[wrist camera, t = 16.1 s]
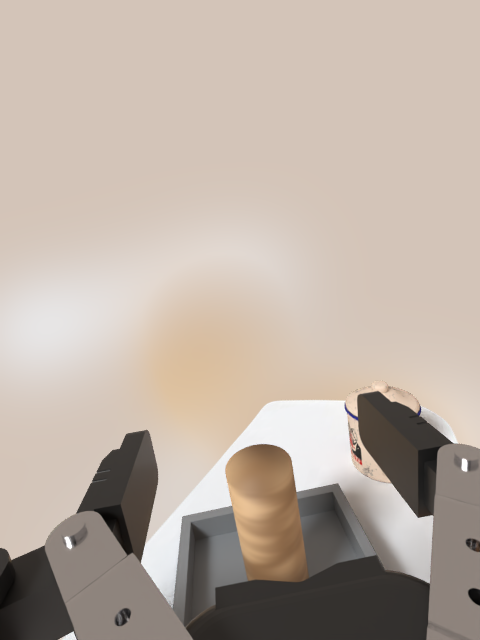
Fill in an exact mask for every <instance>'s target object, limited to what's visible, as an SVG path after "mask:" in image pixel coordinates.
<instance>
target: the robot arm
mask: <svg viewBox="0 0 480 640" xmlns="http://www.w3.org/2000/svg"><path fill="white" fill-rule="evenodd" d="M357 409H358V428H359V435H360V439H361V441H362V444H363V446H364V447H365V449H366V450H367V451H368V453H369V454H370V455H371V457H372V458H373V459H374V461H375V462H376V463H377V464H378V466H379V467H380V468H381V470H382V471H383V472H384V474H385V475H386V476H387V478H388V479H389V480H390V482H391V483H392V484H393V485H394V487H395V488H396V489H397V491H398V492H399V493H400V495H401V496H402V497H403V499H404V500H405V501H406V502H407V504H408V505H409V506H410V508H411V509H412V510H413V512H414V513H415V514H416V516H417V517H418V518H420V517H425V516H430V515H433V516H434V518H433V537H432V556H431V575H430V584H429V583H427V582H425V581H423V580H421V579H418V578H416V577H413V576H411V575H407V574H404V573H401V572H396V571H390V570H384V568H383V566H382V564H381V562H380V561H379V559H378V557H377V555H374V556H369V557H364V558H359V559H354V560H349V561H344V562H339V563H336V564H335V565H333V566H331V567H329V568H327V569H325V570H323V571H321V572H319V573H317V574H315V575H313V576H312V577H310V578H308V579H306V580H304V581H301V582H286V581H271V580H257V579H255V580H250V581H246V582H241V583H236V584H231V585H226V586H221V587H216V588H215V605H213V606H211V607H209V608H208V609H206V610H205V611H203V612H202V613H200V614H199V615H198V616H197V617H195V618H194V619H193V620H192V621H191V622H190V623H189V624H188V625H187V626H186V627H184V625H183V624H182V622H181V621H180V620H179V618H178V617H177V615H176V614H175V612H174V611H173V609H172V608H171V607H170V605H169V604H168V602H167V601H166V599H165V598H164V596H163V595H162V593H161V592H160V591H159V589H158V588H157V586H156V585H155V583H154V582H153V580H152V579H151V578H150V576H149V575H148V573H147V572H146V570H145V569H144V567H143V566H142V564H141V560H142V555H143V550H144V546H145V541H146V536H147V532H148V527H149V522H150V518H151V513H152V508H153V504H154V499H155V494H156V490H157V485H158V469H157V463H156V459H155V454H154V450H153V446H152V441H151V437H150V434H149V431H148V430H145V431H139V432H133V433H128V434H126V436H125V438H124V440H123V443H122V445H121V447H120V449H117V450H112V451H111V452H110V453H109V454H108V455H107V456H106V457H105V458H104V459H103V460H102V462H101V464H100V466H99V468H98V470H97V474H95V476H94V478H93V480H92V483H91V484H90V486H89V488H88V491H87V492H86V495H85V497H84V498H83V501H82V503H81V505H80V507H79V509H78V511H77V513H76V514H75V515H73V516H71V517H69V518H67V519H66V520H64V521H63V522H61V523H60V524H59V525H58V526H57V527H56V528H55V529H54V530H53V531H52V532H51V534H50V535H49V536H48V538H47V540H46V543H45V546H42V547H41V548H38V549H36V550H34V551H31V552H29V553H27V554H25V555H22V556H20V557H18V558H15V559H13V560H11V559H10V556H9V554H8V552H7V550H5V549H2V548H0V640H58V639H60V638H62V637H63V636H65V635H67V634H69V633H71V632H73V631H74V633H75V636H76V639H77V640H480V449H478V448H476V447H472V446H469V445H464V444H454V443H452V442H451V441H450V440H449V439H447V438H446V437H445V436H444V435H443V434H441V433H440V432H439V431H438V430H436V429H435V428H434V427H433V426H432V425H430V424H429V423H427V421H425V420H424V419H423V418H422V417H419V415H418V414H417V413H416V412H414V411H413V410H412V409H411V408H409V407H408V406H405V405H403V404H401V403H398V402H396V401H395V402H391V401H390V400H389V399H388V398H386V397H385V396H384V395H383V394H382V393H381V392H379V391H375V392H369V393H363V394H359V395H358V397H357Z"/></svg>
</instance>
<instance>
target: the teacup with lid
mask: <svg viewBox="0 0 480 640" xmlns="http://www.w3.org/2000/svg"><path fill="white" fill-rule="evenodd" d="M375 391H379V392H381V393H382V394H383V395H384V396H385V397H386V398H388V399H389V400H390V401H391V402H395V401H396V402H398V403H401V404H403V405H405V406H408V407H409V408H411V409H412V410H413V411H414V412H416V413H417V414H418V415H420V413H421V406H420V404H419V402H418V400H417V399H416V398H415V397H414V396H413V395H412V394H410V393H409V392H407V391H404V390H402V389H399V388H395V387H389V386H388V384H387V383H386V382H384V381H375V382H373V383H372V385H371V386H369V387H364V388H360V389H357V390H355V391H353V392H352V393H351V394H350V395H349V396H348V397H347V399H346V402H345V410H346V412H347V416H348V426H349V436H350V446H351V457H352V461H353V464H354V465H355V467H356V468H357V469H358V470H359V471H360V472H361V473H362V474H364V475H365V476H367V477H369V478H371V479H374V480H377V481H380V482H386V483H391V482H390V480H389V479H388V478H387V476H386V475H385V474H384V472H383V471H382V470H381V468H380V467H379V466H378V464H377V463H376V462H375V461H374V459H373V458H372V457H371V455H370V454H369V453H368V451H367V450H366V449H365V447H364V446H363V444H362V441H361V439H360V435H359V428H358V409H357V397H358V395H359V394H363V393H369V392H375Z"/></svg>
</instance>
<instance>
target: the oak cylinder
mask: <svg viewBox="0 0 480 640" xmlns="http://www.w3.org/2000/svg"><path fill="white" fill-rule="evenodd" d="M225 472H226V478H227V483H228V487H229V492H230V497H231V502H232V507H233V512H234V517H235V521H236V526H237V531H238V536H239V541H240V546H241V551H242V555H243V560H244V565H245V570H246V575H247V580H248V581H250V580H255V579H257V580H271V581H286V582H301V581H304V580H306V579H308V578H309V574H308V568H307V561H306V554H305V547H304V541H303V534H302V527H301V521H300V514H299V507H298V500H297V494H296V487H295V480H294V474H293V467H292V461H291V458H290V456H289V454H288V453H287V452H286V451H285V450H283V449H282V448H280V447H277V446H274V445H268V444H259V445H253V446H249V447H246V448H244V449H242V450H240V451H238V452H237V453H235V454H234V455H233V456H232V457H231V458H230V460H229V461H228V463H227V465H226V469H225Z"/></svg>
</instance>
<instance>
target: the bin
mask: <svg viewBox="0 0 480 640" xmlns="http://www.w3.org/2000/svg"><path fill="white" fill-rule="evenodd" d="M296 494H297V500H298V507H299V514H300V521H301V527H302V534H303V541H304V547H305V554H306V561H307V568H308V574H309V578H310V577H312V576H313V575H315V574H317V573H319V572H321V571H323V570H325V569H327V568H329V567H331V566H333V565H335V564H336V563H339V562H344V561H349V560H354V559H359V558H364V557H369V556H374V555H377V554H376V553H375V551H374V549H373V547H372V545H371V543H370V541H369V540H368V538H367V536H366V534H365V532H364V530H363V529H362V527H361V525H360V523H359V521H358V519H357V518H356V516H355V514H354V512H353V510H352V508H351V507H350V505H349V503H348V501H347V499H346V497H345V496H344V494H343V492H342V490H341V488H340V486H339V485H338V483H337V484H333V485H328V486H323V487H318V488H314V489H309V490H304V491H300V492H296ZM377 557H378V556H377ZM378 559H379V558H378ZM379 561H380V560H379ZM382 566H383V565H382ZM383 568H384V567H383ZM384 570H385V569H384ZM246 581H248V580H247V575H246V570H245V565H244V560H243V555H242V551H241V546H240V541H239V536H238V531H237V526H236V521H235V517H234V512H233V507H232V506H229V507H225V508H220V509H215V510H211V511H206V512H201V513H197V514H192V515H187V516H183V517H182V525H181V535H180V545H179V555H178V565H177V574H176V584H175V594H174V604H173V611H174V612H175V614H176V615H177V617H178V618H179V620H180V621H181V622H182V624H183V625H184V627H186V626H187V625H188V624H189V623H190V622H191V621H192V620H193V619H194V618H195V617H197V616H198V615H199V614H200V613H202V612H203V611H205V610H206V609H208V608H209V607H211V606H213V605H215V588H216V587H221V586H226V585H231V584H236V583H241V582H246Z"/></svg>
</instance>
